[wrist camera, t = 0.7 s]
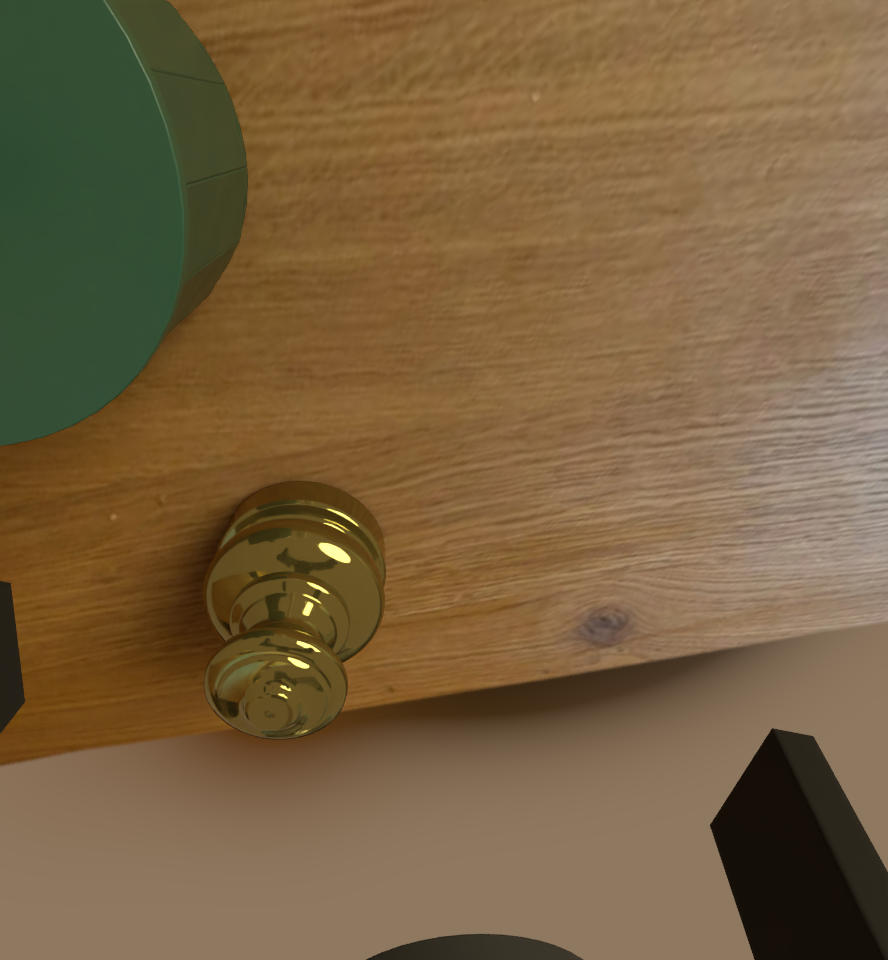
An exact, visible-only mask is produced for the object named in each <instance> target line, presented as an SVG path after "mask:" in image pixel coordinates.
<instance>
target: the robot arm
mask: <svg viewBox="0 0 888 960" xmlns="http://www.w3.org/2000/svg"><path fill="white" fill-rule="evenodd" d="M24 702H25V698H24V690H23V681H22V673H21V665H20V657H19V648H18V640H17V632H16V624H15V615H14V607H13V599H12V591H11V583H7V582H2V581H0V733H1V732H2V731H3V729H4V728H5V727H6V726H7V724H8V723H9V722H10V720H11V719H12V718H13V717H14V715H15V714H16V713H17V711H18V710H19V709H20V708H21V706H22V705H23V704H24ZM710 827H711V830H712V833H713V836H714V839H715V842H716V845H717V848H718V851H719V854H720V857H721V860H722V863H723V866H724V869H725V872H726V875H727V878H728V881H729V884H730V887H731V890H732V893H733V896H734V899H735V902H736V905H737V908H738V911H739V914H740V917H741V920H742V923H743V926H744V929H745V932H746V935H747V938H748V941H749V944H750V947H751V950H752V953H753V956H754V959H755V960H888V872H887V870H886V868H885V866H884V864H883V863H882V861H881V859H880V857H879V855H878V853H877V852H876V850H875V848H874V846H873V844H872V842H871V841H870V839H869V837H868V835H867V833H866V832H865V830H864V828H863V826H862V824H861V822H860V821H859V819H858V817H857V815H856V813H855V811H854V810H853V808H852V806H851V804H850V802H849V800H848V799H847V797H846V795H845V793H844V791H843V790H842V788H841V786H840V784H839V782H838V780H837V779H836V777H835V775H834V773H833V771H832V769H831V768H830V766H829V764H828V762H827V760H826V759H825V757H824V755H823V753H822V751H821V749H820V748H819V746H818V744H817V742H816V740H815V738H814V737H813V736H809V735H804V734H799V733H793V732H788V731H783V730H778V729H772V730H771V731H770V733H769V734H768V736H767V737H766V739H765V740H764V742H763V744H762V745H761V747H760V748H759V750H758V751H757V753H756V754H755V756H754V757H753V759H752V761H751V762H750V764H749V765H748V767H747V768H746V770H745V772H744V773H743V775H742V776H741V778H740V779H739V781H738V782H737V784H736V786H735V787H734V789H733V790H732V792H731V793H730V795H729V796H728V798H727V800H726V801H725V803H724V804H723V806H722V807H721V809H720V810H719V812H718V814H717V815H716V817H715V818H714V820H713V822H712V823H711V824H710Z"/></svg>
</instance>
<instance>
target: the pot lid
mask: <svg viewBox="0 0 888 960" xmlns="http://www.w3.org/2000/svg"><path fill="white" fill-rule="evenodd" d="M188 252H189V204H188V196H187V188H186V180H185V172H184V167H183V163H182V159H181V155H180V150H179V146H178V142H177V138H176V134H175V130H174V126H173V124H172V121H171V118H170V116H169V113H168V110H167V107H166V105H165V102H164V99H163V97H162V94H161V91H160V88H159V86H158V83H157V81H156V79H155V77H154V75H153V73H152V71H151V69H150V67H149V65H148V63H147V61H146V59H145V57H144V55H143V53H142V51H141V49H140V47H139V45H138V43H137V41H136V39H135V37H134V35H133V34H132V32H131V31H130V29H129V27H128V26H127V24H126V23H125V21H124V19H123V18H122V16H121V15H120V13H119V11H118V10H117V8H116V7H115V5H114V3H113V2H112V0H0V446H1V445H10V444H16V443H21V442H25V441H29V440H33V439H38V438H42V437H45V436H48V435H50V434H53V433H56V432H58V431H61V430H63V429H66V428H69V427H71V426H73V425H75V424H77V423H79V422H80V421H82V420H84V419H86V418H87V417H89V416H91V415H93V414H95V413H96V412H98V411H99V410H101V409H102V408H103V407H104V406H106V405H107V404H108V403H109V402H111V401H112V400H113V399H115V398H116V397H117V396H118V395H120V394H121V393H122V392H123V391H124V390H125V389H126V388H127V387H128V386H129V385H130V384H131V383H132V381H133V380H134V379H135V378H136V377H137V376H138V375H139V374H140V373H141V372H142V371H143V369H144V368H145V367H146V366H147V364H148V363H149V361H150V360H151V358H152V357H153V355H154V354H155V352H156V351H157V349H158V348H159V346H160V345H161V343H162V342H163V340H164V337H165V335H166V333H167V331H168V329H169V327H170V324H171V322H172V320H173V318H174V316H175V313H176V310H177V306H178V303H179V299H180V296H181V292H182V289H183V285H184V282H185V274H186V267H187V259H188Z"/></svg>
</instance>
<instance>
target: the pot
mask: <svg viewBox="0 0 888 960" xmlns="http://www.w3.org/2000/svg"><path fill="white" fill-rule="evenodd" d="M112 2H113V3H114V5H115V7H116V8H117V10H118V11H119V13H120V15H121V16H122V18H123V19H124V21H125V23H126V24H127V26H128V27H129V29H130V31H131V32H132V34H133V35H134V37H135V39H136V41H137V43H138V45H139V47H140V49H141V51H142V53H143V55H144V57H145V59H146V61H147V63H148V65H149V67H150V69H151V71H152V73H153V75H154V77H155V79H156V81H157V83H158V86H159V88H160V91H161V94H162V97H163V99H164V102H165V105H166V107H167V110H168V113H169V116H170V118H171V121H172V124H173V126H174V130H175V134H176V138H177V142H178V146H179V150H180V155H181V159H182V163H183V167H184V172H185V180H186V188H187V196H188V204H189V252H188V259H187V267H186V274H185V282H184V285H183V289H182V292H181V296H180V299H179V303H178V306H177V310H176V313H175V316H174V318H173V320H172V322H171V324H170V327H169V329H168V331H167V333H168V332H170V331H171V330H172V329H173V328H174V327H175V326H176V325H177V324H178V323H179V322H180V321H181V320H183V319H184V318H185V317H186V316H187V315H188V314H189V313H190V312H191V311H192V310H193V309H195V308H196V307H197V306H198V305H199V304H200V303H201V302H202V301H203V300H204V299H205V298H207V296H208V295H209V294H210V293H211V291H212V289H213V287H214V285H215V284H216V282H217V280H218V279H219V277H220V276H221V275H222V273H223V272H224V270H225V269H226V267H227V265H228V263H229V261H230V259H231V257H232V255H233V253H234V251H235V249H236V247H237V245H238V243H239V239H240V238H241V230H242V227H243V223H244V217H245V211H246V205H247V187H248V174H247V162H246V152H245V147H244V142H243V137H242V133H241V128H240V124H239V121H238V118H237V115H236V112H235V109H234V106H233V103H232V100H231V98H230V95H229V93H228V91H227V87H226V86H225V84H224V81H223V80H222V78H221V75H220V73H219V72H218V70H217V68H216V66H215V65H214V63H213V61H212V60H211V58H210V56H209V54H208V53H207V51H206V49H205V48H204V46H203V45H202V44H201V42H200V41H199V40H198V38H197V37H196V35H195V34H194V33H193V31H192V30H191V29H190V27H189V26H188V25H187V23H186V22H185V21H184V20H183V19H182V18H181V16H180V15H179V13H178V12H177V10H176V9H175V8H174V7H173V6H172V4H171V3H169V2H168V1H167V0H112ZM167 333H166V334H167Z"/></svg>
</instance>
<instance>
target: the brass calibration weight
mask: <svg viewBox="0 0 888 960" xmlns="http://www.w3.org/2000/svg"><path fill="white" fill-rule="evenodd" d="M385 579H386V568H385V545H384V539H383V535H382V532H381V529H380V527H379V525H378V523H377V521H376V520H375V518H374V517H373V515H372V514H371V513H370V512H369V510H368V509H367V508H366V507H365V506H364V505H363V504H362V503H360V502H359V501H358V500H357V499H355V498H354V497H352V496H351V495H349V494H348V493H346V492H344V491H342V490H340V489H337V488H335V487H332V486H329V485H326V484H321V483H316V482H308V481H293V482H285V483H280V484H276V485H273V486H270V487H267V488H265V489H262V490H260V491H259V492H257V493H255V494H254V495H252V496H251V497H249V498H248V499H247V500H246V501H245V502H244V503H243V504H242V505H241V506H240V507H239V508H238V509H237V511H236V512H235V514H234V515H233V517H232V519H231V521H230V523H229V526H228V528H227V530H226V532H225V533H224V535H223V536H222V538H221V540H220V542H219V545H218V547H217V551H216V556H215V557H214V559H213V560H212V562H211V564H210V566H209V568H208V571H207V573H206V576H205V580H204V585H203V604H204V609H205V612H206V615H207V618H208V621H209V623H210V625H211V627H212V628H213V630H214V632H215V633H216V634H217V636H218V637H219V638H220V639H221V641H222V642H223V644H221V645H220V646H219V647H218V648H217V649H216V651H215V652H214V653H213V655H212V656H211V658H210V659H209V661H208V664H207V666H206V670H205V676H204V692H205V696H206V699H207V701H208V703H209V705H210V707H211V708H212V709H213V711H214V712H215V713H216V714H217V715H218V716H219V717H220V718H221V719H222V720H223V721H224V722H226V723H227V724H228V725H230V726H231V727H233V728H235V729H237V730H239V731H241V732H244V733H246V734H249V735H252V736H256V737H260V738H266V739H293V738H298V737H302V736H306V735H309V734H312V733H314V732H316V731H318V730H320V729H322V728H324V727H325V726H327V725H328V724H329V723H330V722H332V721H333V720H334V719H335V718H336V717H337V715H338V714H339V713H340V711H341V709H342V707H343V705H344V702H345V699H346V696H347V690H348V679H347V674H346V670H345V668H344V665H343V662H345V661H347V660H349V659H350V658H352V657H354V656H355V655H356V654H358V653H359V652H360V651H361V650H362V649H364V648H365V647H366V645H367V644H368V643H369V642H370V641H371V640H372V638H373V637H374V635H375V634H376V632H377V630H378V628H379V626H380V624H381V621H382V618H383V614H384V607H385V594H384V585H385Z"/></svg>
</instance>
